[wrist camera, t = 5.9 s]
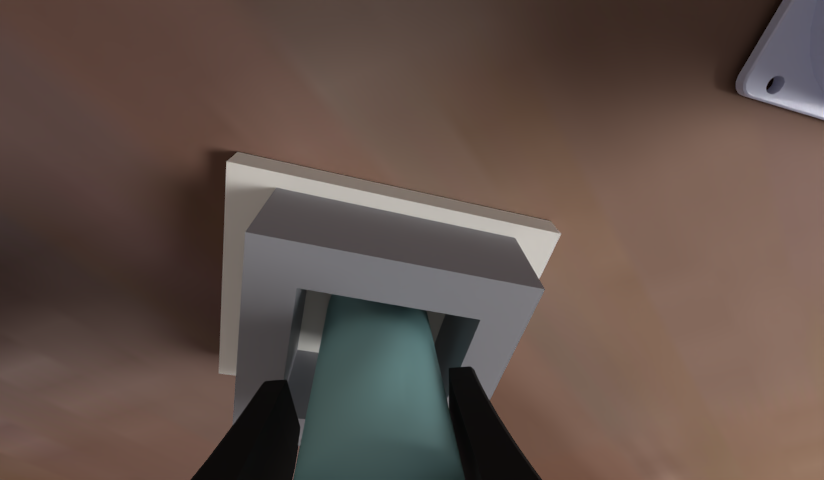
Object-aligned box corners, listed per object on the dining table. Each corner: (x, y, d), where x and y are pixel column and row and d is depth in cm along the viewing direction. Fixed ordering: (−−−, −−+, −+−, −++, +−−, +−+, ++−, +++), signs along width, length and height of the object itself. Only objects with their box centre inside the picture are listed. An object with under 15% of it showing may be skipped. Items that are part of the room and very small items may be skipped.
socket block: (550, 221, 15) (601, 284, 11) (472, 390, 19) (491, 475, 15) (237, 151, 13) (179, 200, 9) (227, 354, 17) (184, 442, 13)
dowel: (444, 300, 15) (501, 474, 8) (390, 367, 16) (402, 571, 9) (361, 251, 14) (350, 407, 7) (308, 327, 15) (258, 525, 8)
